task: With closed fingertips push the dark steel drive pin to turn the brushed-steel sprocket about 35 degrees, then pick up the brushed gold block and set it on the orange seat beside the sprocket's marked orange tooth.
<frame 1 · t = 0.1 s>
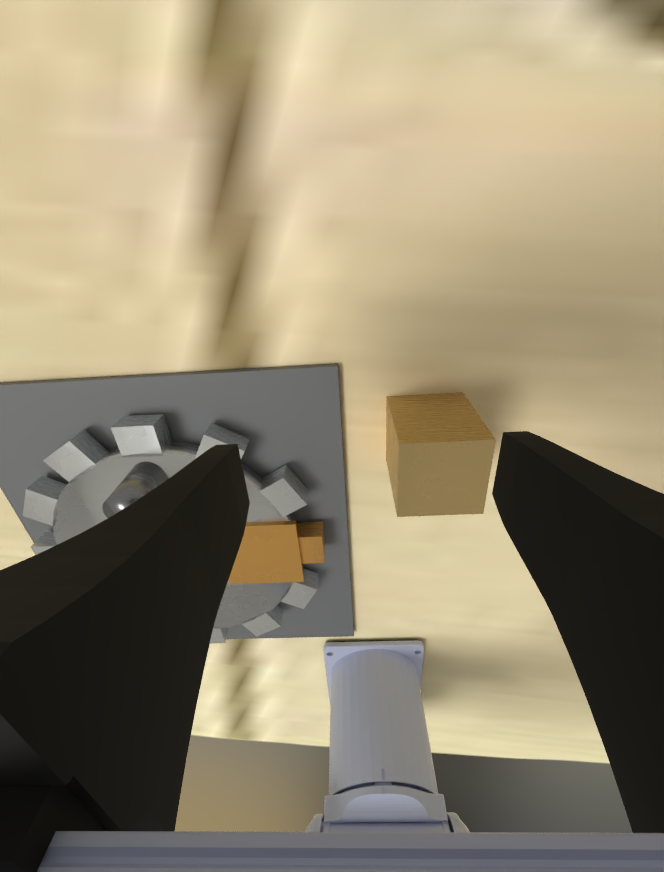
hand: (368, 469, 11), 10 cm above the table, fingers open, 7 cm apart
sprocket: (173, 565, 23), point 3 cm above the table, hinge at 0.0°
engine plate: (189, 532, 25), on the table
brushed gold block: (422, 427, 21), on the table
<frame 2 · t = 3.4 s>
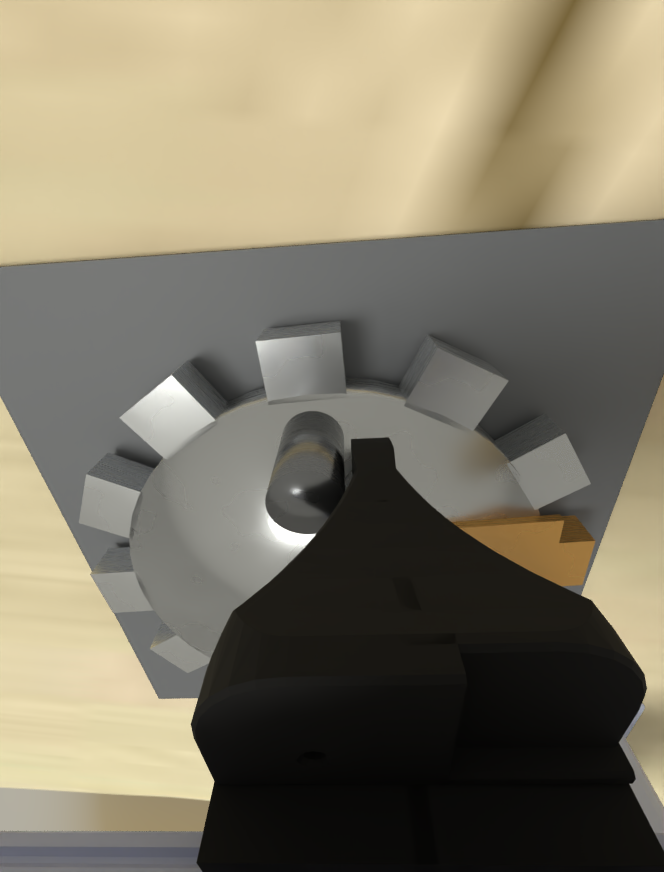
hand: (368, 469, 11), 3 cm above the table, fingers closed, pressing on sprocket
sprocket: (334, 599, 13), point 3 cm above the table, hinge at 2.6°, touching gripper
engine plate: (335, 540, 16), on the table
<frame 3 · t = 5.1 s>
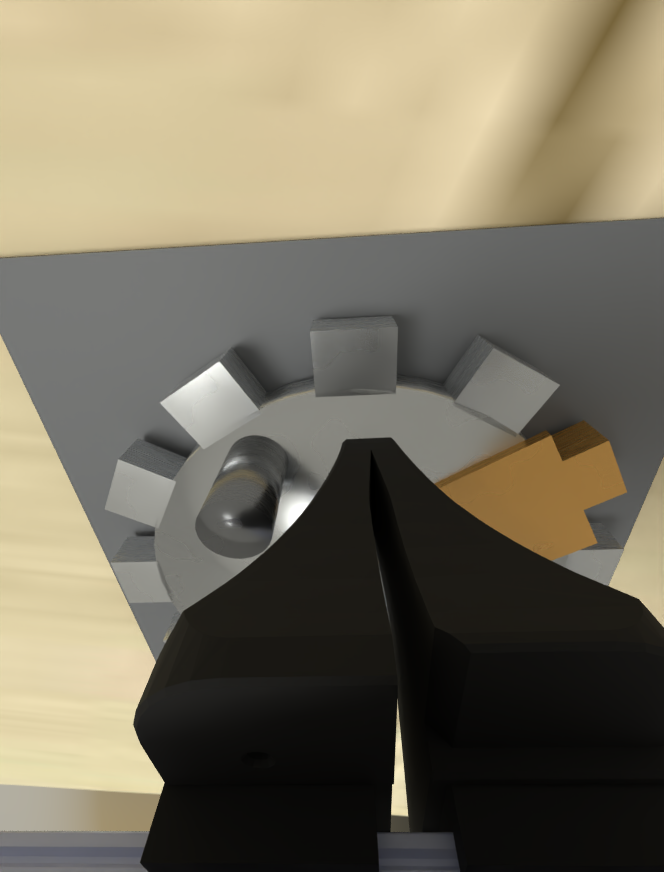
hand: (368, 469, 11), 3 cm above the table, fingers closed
sprocket: (361, 597, 13), point 3 cm above the table, hinge at 30.0°
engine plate: (358, 538, 16), on the table
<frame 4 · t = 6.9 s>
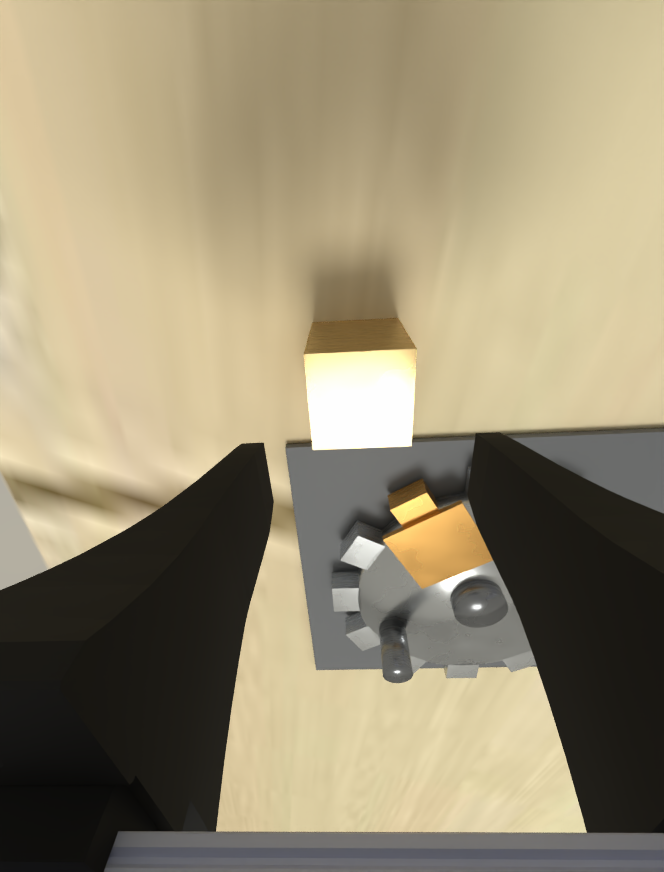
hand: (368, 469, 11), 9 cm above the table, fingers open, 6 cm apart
sprocket: (480, 608, 23), point 3 cm above the table, hinge at 30.0°
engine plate: (466, 571, 26), on the table
brushed gold block: (356, 361, 19), on the table
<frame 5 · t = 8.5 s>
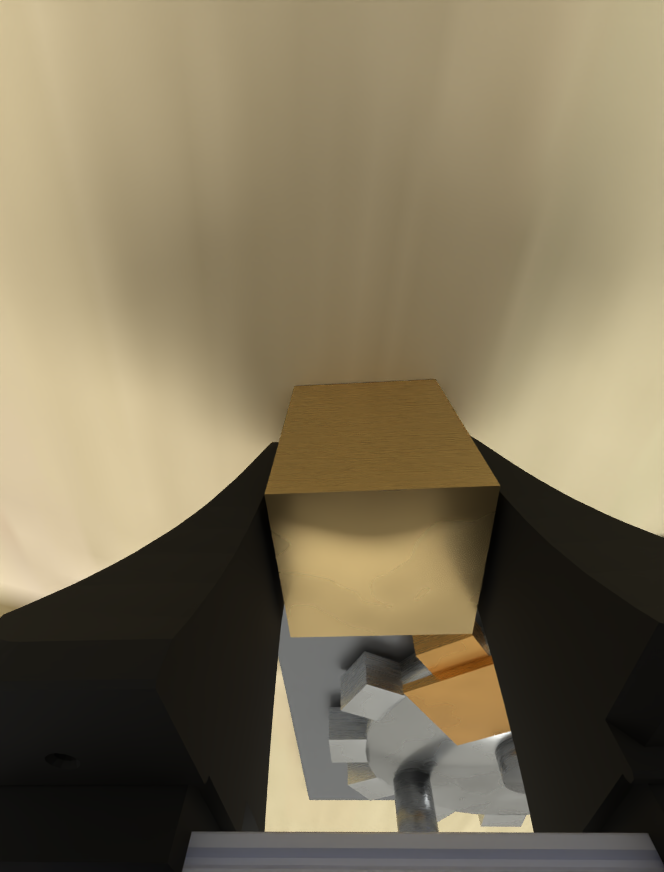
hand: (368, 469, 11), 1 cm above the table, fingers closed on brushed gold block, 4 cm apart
sprocket: (540, 774, 16), point 3 cm above the table, hinge at 30.0°
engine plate: (513, 701, 19), on the table
brushed gold block: (365, 443, 12), on the table, touching gripper
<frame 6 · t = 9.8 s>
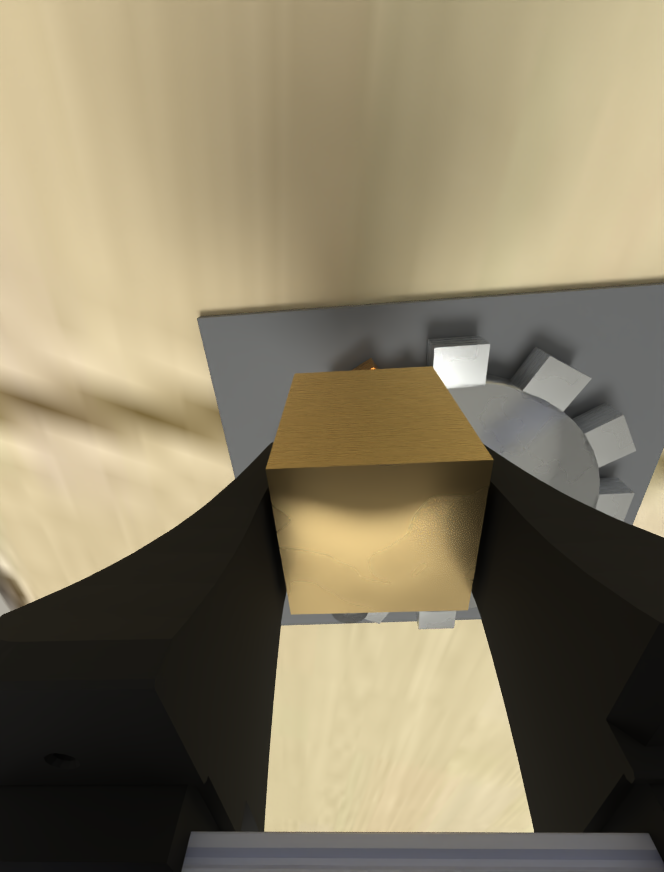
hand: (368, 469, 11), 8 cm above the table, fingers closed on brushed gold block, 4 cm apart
sprocket: (450, 530, 19), point 3 cm above the table, hinge at 30.0°
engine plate: (437, 494, 21), on the table
brushed gold block: (364, 430, 12), point 7 cm above the table, touching gripper
when the fingers open (5 cm above the table, at t = 11.1 s): brushed gold block stays where it is, resting on sprocket.
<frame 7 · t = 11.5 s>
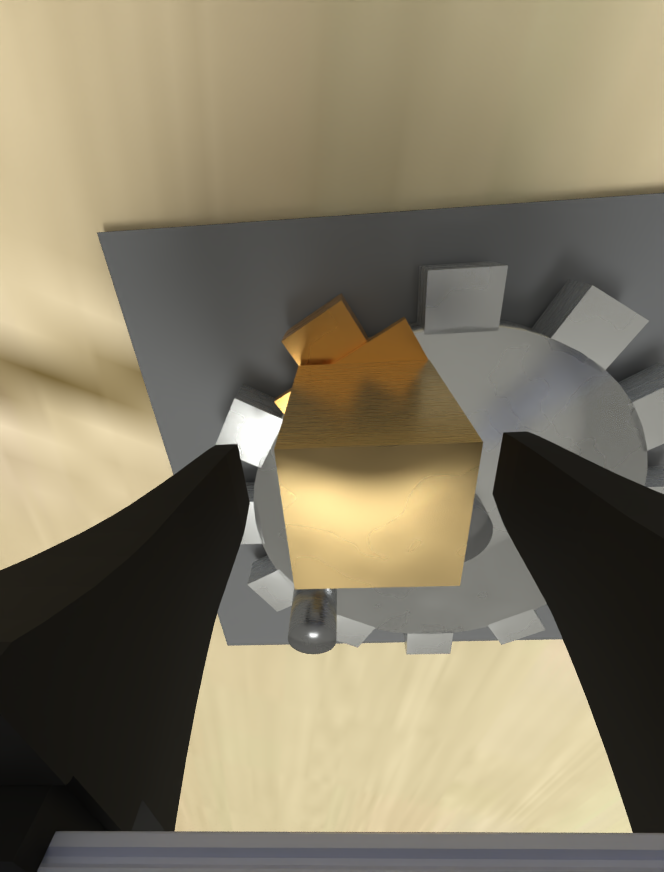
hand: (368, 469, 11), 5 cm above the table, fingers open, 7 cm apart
sprocket: (447, 532, 14), point 3 cm above the table, hinge at 30.0°, touching brushed gold block
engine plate: (431, 486, 17), on the table
brushed gold block: (364, 420, 13), point 2 cm above the table, touching sprocket
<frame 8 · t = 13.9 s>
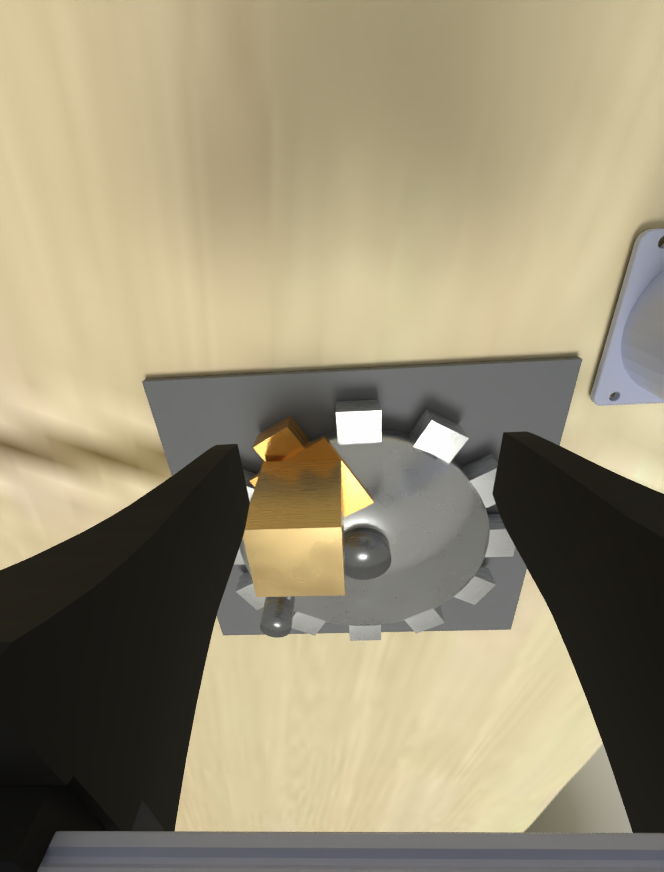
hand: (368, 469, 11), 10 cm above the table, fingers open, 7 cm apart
sprocket: (363, 558, 22), point 3 cm above the table, hinge at 30.0°, touching brushed gold block
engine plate: (361, 524, 25), on the table
brushed gold block: (305, 491, 21), point 2 cm above the table, touching sprocket
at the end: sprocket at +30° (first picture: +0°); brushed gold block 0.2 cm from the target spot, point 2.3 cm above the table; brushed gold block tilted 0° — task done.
